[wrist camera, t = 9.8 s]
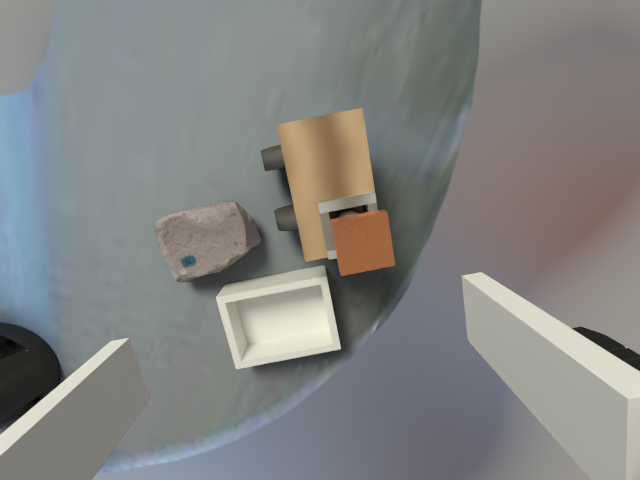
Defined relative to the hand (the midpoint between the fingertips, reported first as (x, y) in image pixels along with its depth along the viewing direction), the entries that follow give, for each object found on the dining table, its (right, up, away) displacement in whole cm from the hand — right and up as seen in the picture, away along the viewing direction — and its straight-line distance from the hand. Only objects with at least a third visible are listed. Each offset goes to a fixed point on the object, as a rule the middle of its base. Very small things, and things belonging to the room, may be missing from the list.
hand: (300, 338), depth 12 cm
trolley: (0, +11, +32) cm, 34 cm away
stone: (-15, +4, +34) cm, 37 cm away
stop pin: (+4, +6, +23) cm, 24 cm away
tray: (-5, -7, +36) cm, 37 cm away
